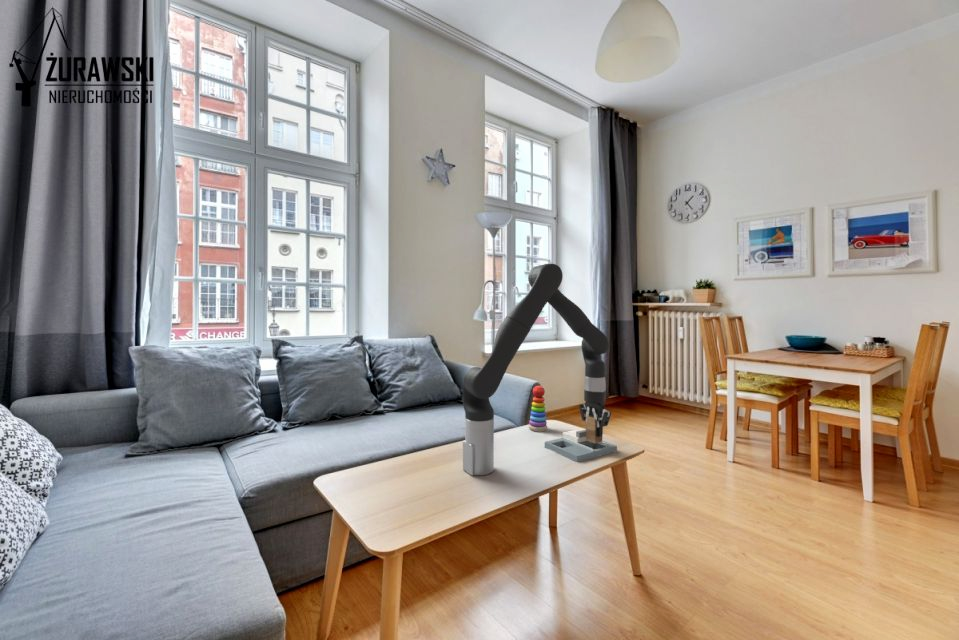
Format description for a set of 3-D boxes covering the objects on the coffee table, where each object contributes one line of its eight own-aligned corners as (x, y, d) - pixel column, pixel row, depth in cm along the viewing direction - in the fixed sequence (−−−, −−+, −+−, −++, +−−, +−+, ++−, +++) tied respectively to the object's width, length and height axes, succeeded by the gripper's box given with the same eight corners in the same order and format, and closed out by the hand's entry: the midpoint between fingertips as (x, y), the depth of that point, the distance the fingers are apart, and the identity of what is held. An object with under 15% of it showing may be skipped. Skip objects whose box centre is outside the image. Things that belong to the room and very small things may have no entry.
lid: (577, 443, 152) (577, 433, 152) (562, 437, 159) (562, 427, 159) (592, 439, 157) (593, 429, 156) (577, 433, 163) (577, 424, 163)
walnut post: (594, 443, 148) (594, 418, 148) (586, 440, 152) (586, 416, 151) (602, 441, 150) (602, 417, 150) (594, 438, 154) (594, 414, 153)
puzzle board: (576, 462, 140) (577, 454, 140) (544, 447, 155) (544, 440, 155) (616, 451, 151) (617, 444, 151) (582, 438, 165) (583, 431, 165)
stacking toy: (548, 432, 173) (549, 388, 172) (529, 432, 173) (530, 387, 172) (546, 426, 181) (546, 384, 180) (527, 426, 181) (528, 384, 180)
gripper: (573, 386, 154) (573, 431, 155) (602, 393, 142) (602, 442, 143) (587, 384, 158) (587, 428, 159) (617, 391, 146) (616, 438, 147)
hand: (594, 434), depth 151 cm, fingers closed on walnut post, 4 cm apart
